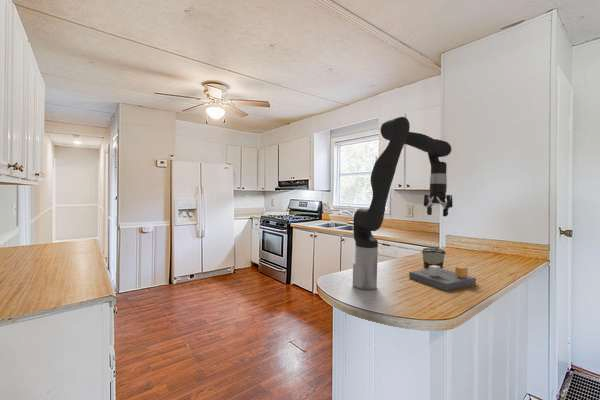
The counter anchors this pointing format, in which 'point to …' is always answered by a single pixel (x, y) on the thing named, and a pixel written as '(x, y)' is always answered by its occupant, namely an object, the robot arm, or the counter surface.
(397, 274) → the counter surface
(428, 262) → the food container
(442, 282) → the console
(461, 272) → the orange fader
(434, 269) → the grey fader
